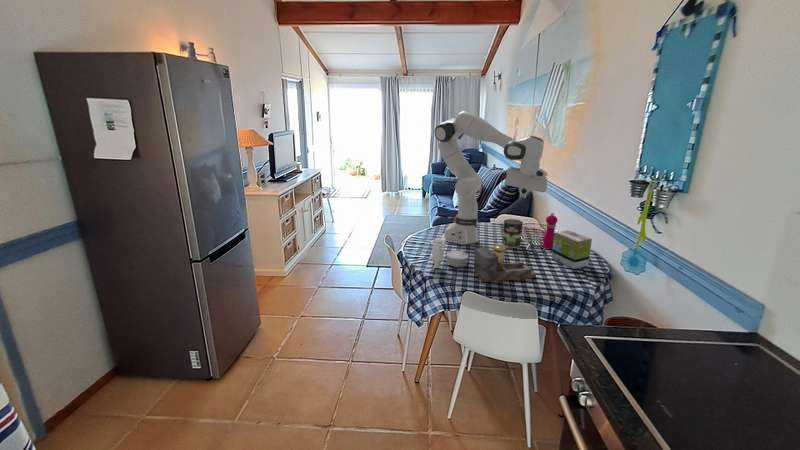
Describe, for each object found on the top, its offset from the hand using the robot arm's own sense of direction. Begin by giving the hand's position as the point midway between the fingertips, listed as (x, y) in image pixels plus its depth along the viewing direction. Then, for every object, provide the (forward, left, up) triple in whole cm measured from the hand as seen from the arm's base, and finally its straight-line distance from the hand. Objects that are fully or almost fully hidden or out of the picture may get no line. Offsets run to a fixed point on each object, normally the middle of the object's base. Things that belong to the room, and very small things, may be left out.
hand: (522, 197), depth 187 cm
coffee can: (-5, +18, -33) cm, 38 cm away
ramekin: (-28, -20, -33) cm, 47 cm away
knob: (-7, -27, -30) cm, 41 cm away
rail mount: (-4, -25, -33) cm, 41 cm away
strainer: (-36, -28, -33) cm, 56 cm away
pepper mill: (+15, +22, -33) cm, 42 cm away
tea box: (+25, +2, -33) cm, 41 cm away
